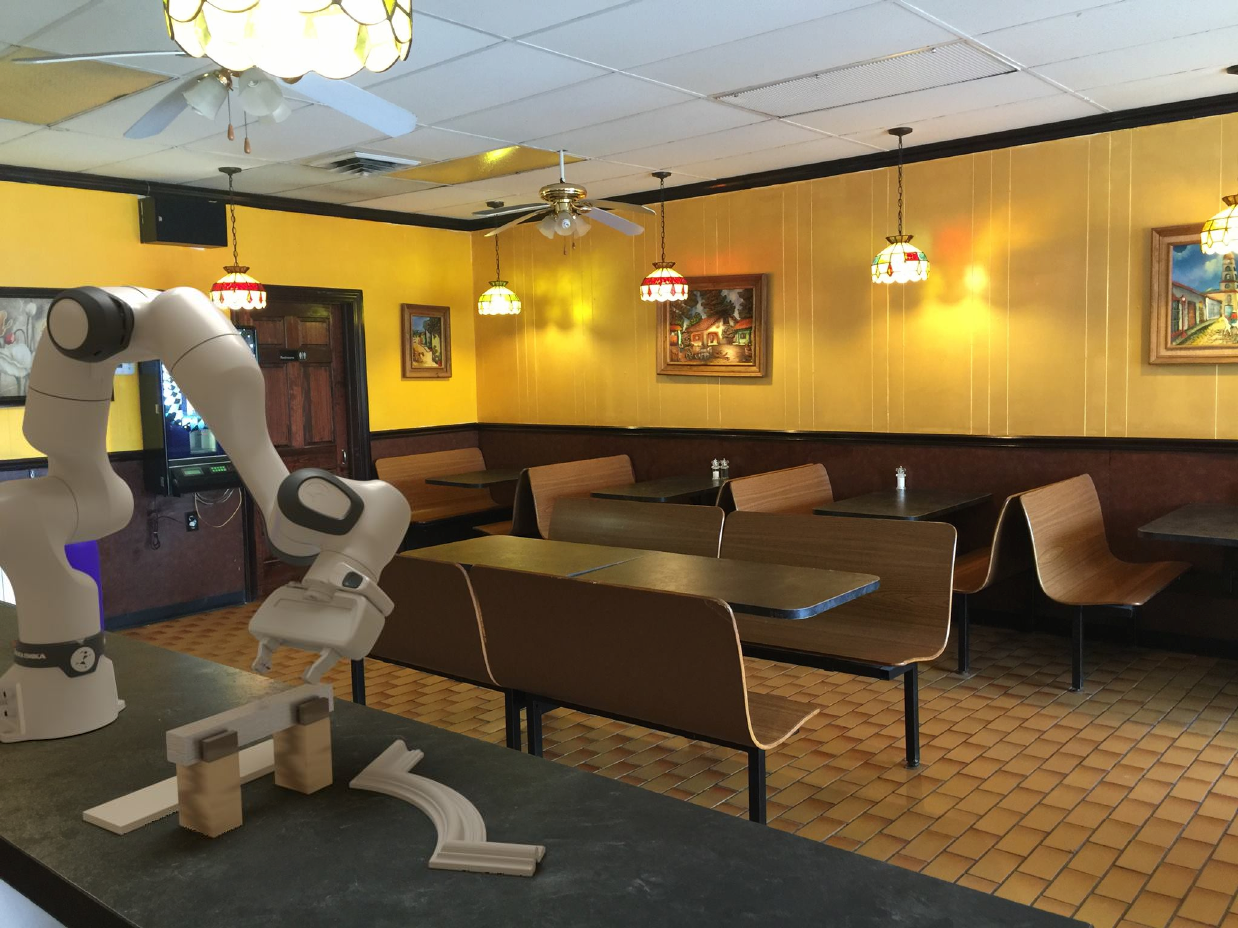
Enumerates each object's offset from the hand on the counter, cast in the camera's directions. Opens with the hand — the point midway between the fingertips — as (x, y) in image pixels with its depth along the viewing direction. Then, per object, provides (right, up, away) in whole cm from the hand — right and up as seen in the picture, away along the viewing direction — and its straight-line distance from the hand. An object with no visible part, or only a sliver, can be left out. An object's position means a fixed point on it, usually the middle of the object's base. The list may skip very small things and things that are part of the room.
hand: (282, 676), depth 127 cm
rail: (-2, -7, -3) cm, 8 cm away
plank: (-11, -15, +4) cm, 19 cm away
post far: (+2, -15, +4) cm, 15 cm away
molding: (+22, -16, -4) cm, 27 cm away
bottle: (-62, -10, +67) cm, 91 cm away
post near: (-6, -16, -8) cm, 19 cm away
